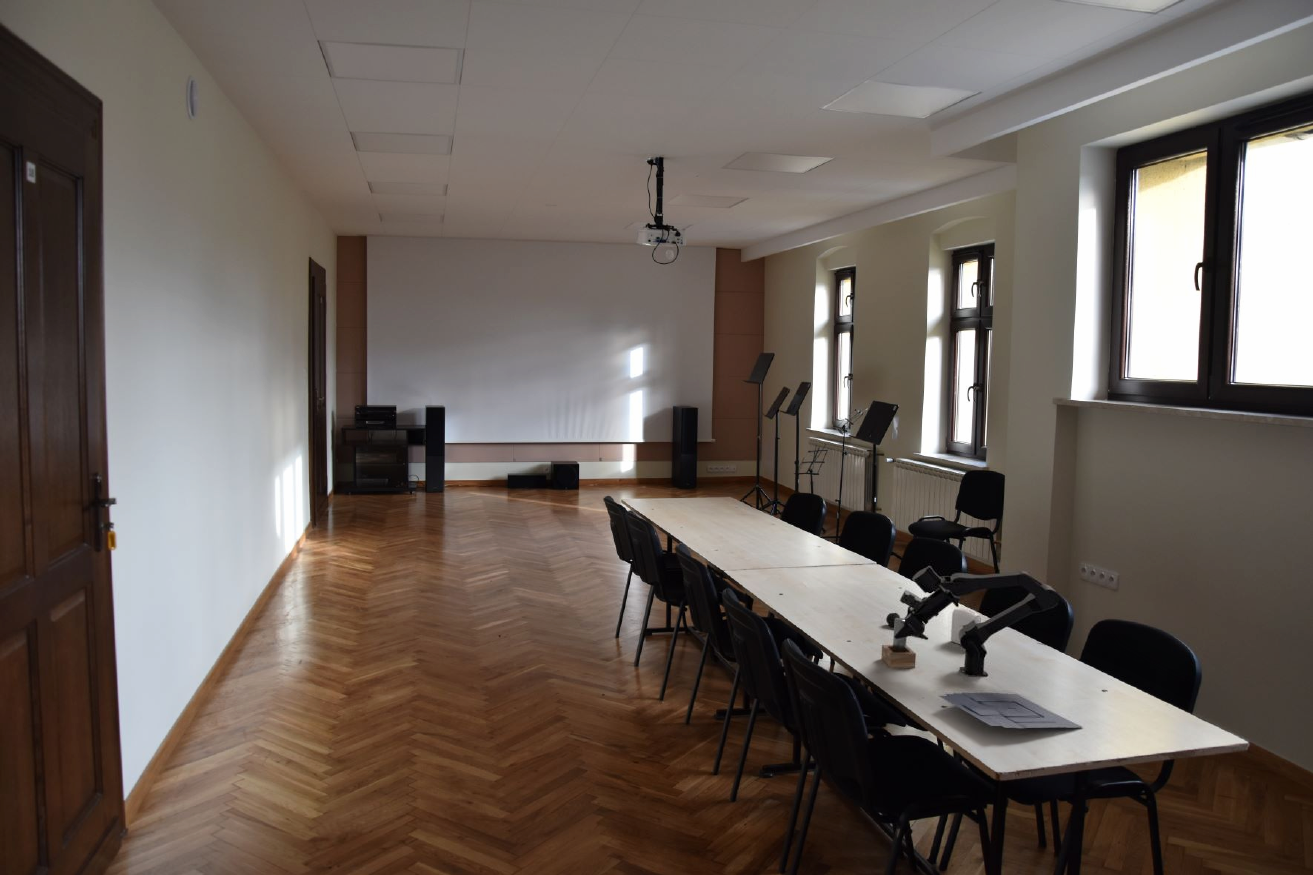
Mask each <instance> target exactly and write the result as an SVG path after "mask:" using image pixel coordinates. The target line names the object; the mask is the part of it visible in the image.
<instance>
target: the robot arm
mask: <svg viewBox="0 0 1313 875" xmlns="http://www.w3.org/2000/svg"><path fill="white" fill-rule="evenodd" d="M911 580H912V581H913V582H914V583H915V584H916V585H917V586H918V587H919V589H921V591H922V592H923V593H925V594H930V595H928V596H924V597H923V598H921V597H919V595H916V594H915V593H913V592H911V591H910V590H907V589H905V590H904V591H903V593H902V595H901V596H900V599H899V601H900V602H901V603H902V604H905V606H907V611H906V615H905V616H904V619H905V625H904V626H903V627H902V628H901V629H900V630H899V631H898V632H897V634H896V635H895V636H894V635H893V637H895V638H896V639H899V638H904V637H907V638H908V637H909V638H910V637H912V636H916V635H921V634H922V633H923V634H924V632H925V628H926V625H927V624H928V623H929V621H930V620H931V619H933V618H934V617H938V616H939V614H940V613H941V612H942V611H943V610H945V609H946V608H947V607H949V605H951V604H952V603H953V605H954V606H955V607H956V608H960V607H959V605H960V604H959V602H960V600H961V599H960V597H962V596H965V595H970V594H973V593H976V592H978V591H982V590H988V589H989V590H990V589H1001V588H1013V587H1023V588H1024V589H1025V590H1026V591H1028V592H1029V593H1028V594H1027V596H1026V597H1025V598H1024V599H1023V600H1021V601H1019V602H1017V603H1016V604H1013V605H1012V606H1010V607H1009V608H1006V609H1005V610H1003V611H1001V612H999V613H998V614H996V615H994V616H992V617H990V618H988V619H987V620H985V621H983V622H982V621H981V623H977V624H976V623H975V621H974V620H973V621H971V622H970V623H969V624H967V625H963V628H962V629H961V630H960V631H959V634H958V636H959V640H960V643H961V644H960V645H961V647H962V648H963V649H964V650H965V652H964V664H963V666H959V670H961V671H962V672H963V673H964V674H965V675H967V676H968V677H982V676H983V677H988V676H989V673H987V672H986V671H985V670H984V669H985V657H986V656H987V654H988V652H987V648H986V647H985V643H986V642H987V641H988V640H989V638H990V637H991V636H993V635H994V634H996V633H998V632H1000V631H1002V630H1003V629H1005V628H1008V627H1009V626H1011V625H1013V624H1014V623H1017V622H1018V621H1020V620H1021V619H1023V618H1026V617H1027V616H1029V615H1031V614H1034V613H1039V612H1045V611H1047V610H1051V609H1053V608H1055V607H1056V606H1058V605H1059V602H1060V598H1059V594H1058V593H1057V591H1056V590H1055V589H1054V588H1053V587H1052V586H1051V585H1049V584H1044V583H1041V581H1038V580H1037V579H1036V578H1034V577H1033V576H1032V575H1030V574H1028V572H1027V571H1026V570H1018V571H1013V572H1001V573H991V574H972V573H964V572H955V573H953V574H952V575H950V576H949V575H947V576H946V575H944V576H939V575H938V574H937V572H935V570H934V569H933V568H932V566H931V565H928V566H927V567H925V568H923V569H920V570H919V571H918V572H916V573H915V574H914V575H913V577H912V578H911ZM954 594H955V595H954Z"/></svg>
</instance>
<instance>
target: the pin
mask: <svg viewBox="0 0 1313 875" xmlns="http://www.w3.org/2000/svg"><path fill="white" fill-rule="evenodd" d="M904 618H905V617H904ZM904 618H903V617H900V618H895V622H894V627H893V637H892V638H893V639H892V645H893V652H906V645H907V638H908V637H904V638H899V639H896V638H895V637H894V636H895V635H896V634H897V632H898V631H899V630H900V629H901V628H902V627H903V626H904V625H905V619H904Z"/></svg>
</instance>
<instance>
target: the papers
mask: <svg viewBox="0 0 1313 875" xmlns="http://www.w3.org/2000/svg"><path fill="white" fill-rule="evenodd" d="M938 697H939V698H941V699H943V700H945V701H947V702H948V703H950V704H952V705H954V706H955V707H958V708H959V709H961V710H963V711H965V712H966V713H968V714H969V715H971V716H972V717H975V718H977V719H978V720H980V721H982V722H983V723H986V724H987V725H988V726H990V727H1003V728H1005V729H1007V728H1008V729H1009V728H1010V729H1012V728H1014V729H1028V728H1031V729H1033V728H1035V729H1038V728H1040V729H1041V728H1066V729H1067V728H1073V729H1075V728H1083V726H1081V725H1079V724H1078V723H1076V722H1073V721H1071V720H1069V719H1067V718H1065V717H1063V716H1061V715H1059V714H1056V713H1055V712H1053V711H1050V710H1048V709H1046V708H1044V707H1042V706H1040V705H1039V704H1037V703H1035V702H1033V701H1031V700H1029V699H1027V698H1025V697H1023V696H1022V695H1020V694H1018V693H1005V692H1003V693H1002V692H961V693H960V692H957V693H956V692H953V693H945V694H944V695H938Z"/></svg>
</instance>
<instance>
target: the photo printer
mask: <svg viewBox="0 0 1313 875" xmlns="http://www.w3.org/2000/svg"><path fill="white" fill-rule="evenodd" d="M951 615H952V616H951V630H950V632H951V634H950V635H951V636H950V641H951V642H953V643H955V644H958V645H961V643H960V640H959V636H958V634H959V631H960V630H961V629H962V628H963V625H967V624H969V623H970V622H971V621H973V620H974V621H975V623H976V624H977V623H982V618H981V616H980V614H978V613H977V612H976V611H974V610H971V609H969V608H965V607H956V608H954V609H953V611H952V614H951Z"/></svg>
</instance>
